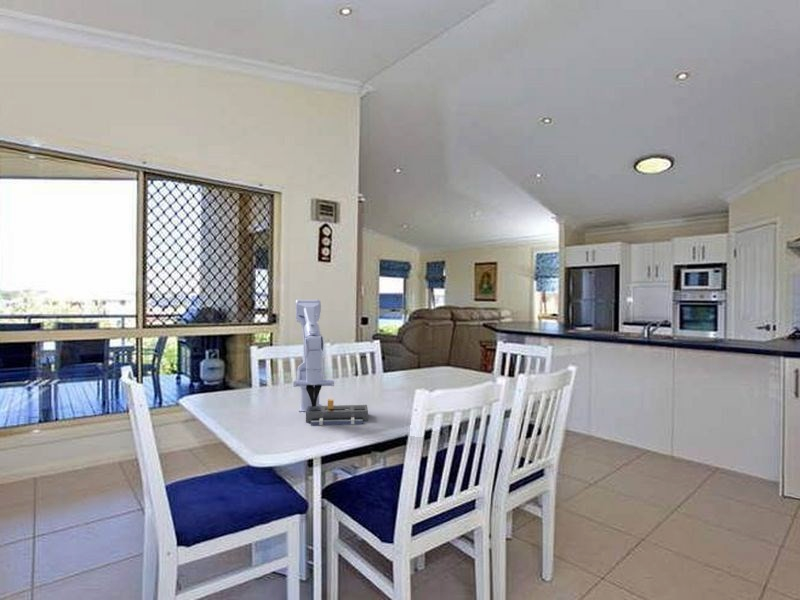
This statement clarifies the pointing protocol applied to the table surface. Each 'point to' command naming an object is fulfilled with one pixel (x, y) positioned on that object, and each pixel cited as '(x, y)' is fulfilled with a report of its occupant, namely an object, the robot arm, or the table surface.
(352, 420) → the cords
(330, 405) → the lever
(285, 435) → the table surface
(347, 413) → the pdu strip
